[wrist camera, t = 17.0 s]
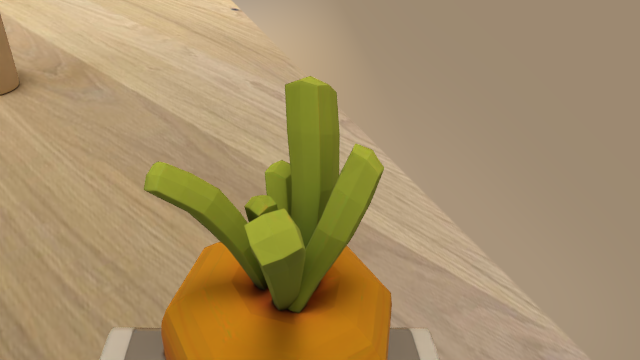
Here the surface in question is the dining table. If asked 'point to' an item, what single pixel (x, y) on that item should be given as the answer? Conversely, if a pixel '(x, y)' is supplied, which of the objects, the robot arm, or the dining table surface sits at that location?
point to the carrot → (282, 253)
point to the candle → (6, 64)
